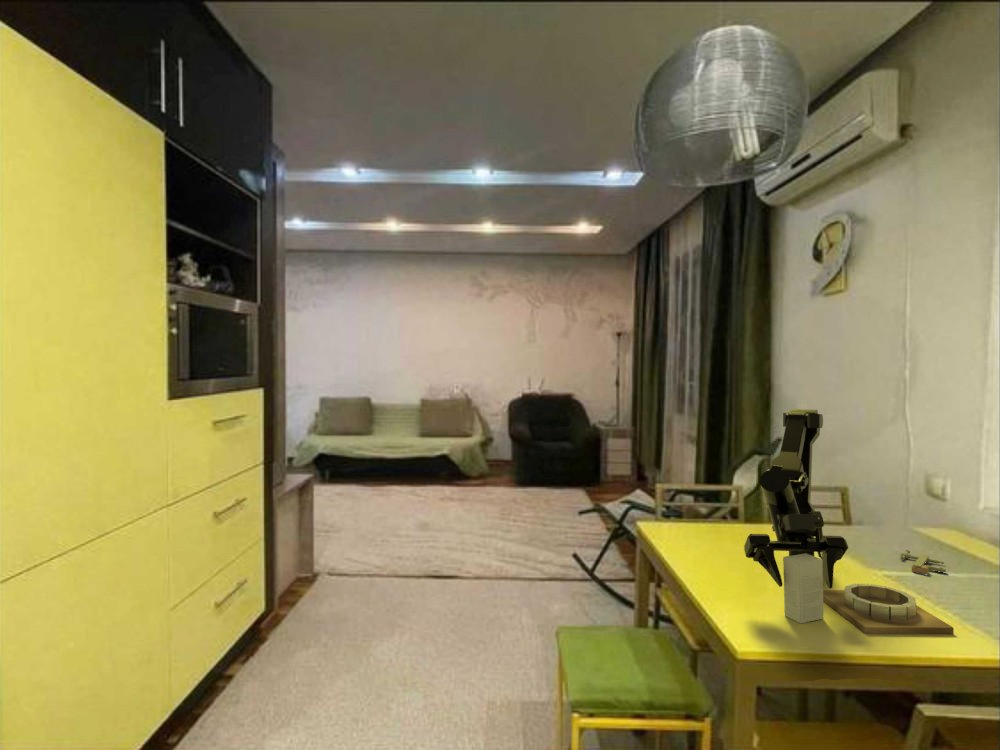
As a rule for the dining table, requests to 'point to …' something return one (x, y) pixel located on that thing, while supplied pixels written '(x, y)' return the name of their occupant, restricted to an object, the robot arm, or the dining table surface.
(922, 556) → the clamp
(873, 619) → the walnut fitting board
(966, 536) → the dining table surface
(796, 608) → the skincare box
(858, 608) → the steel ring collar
